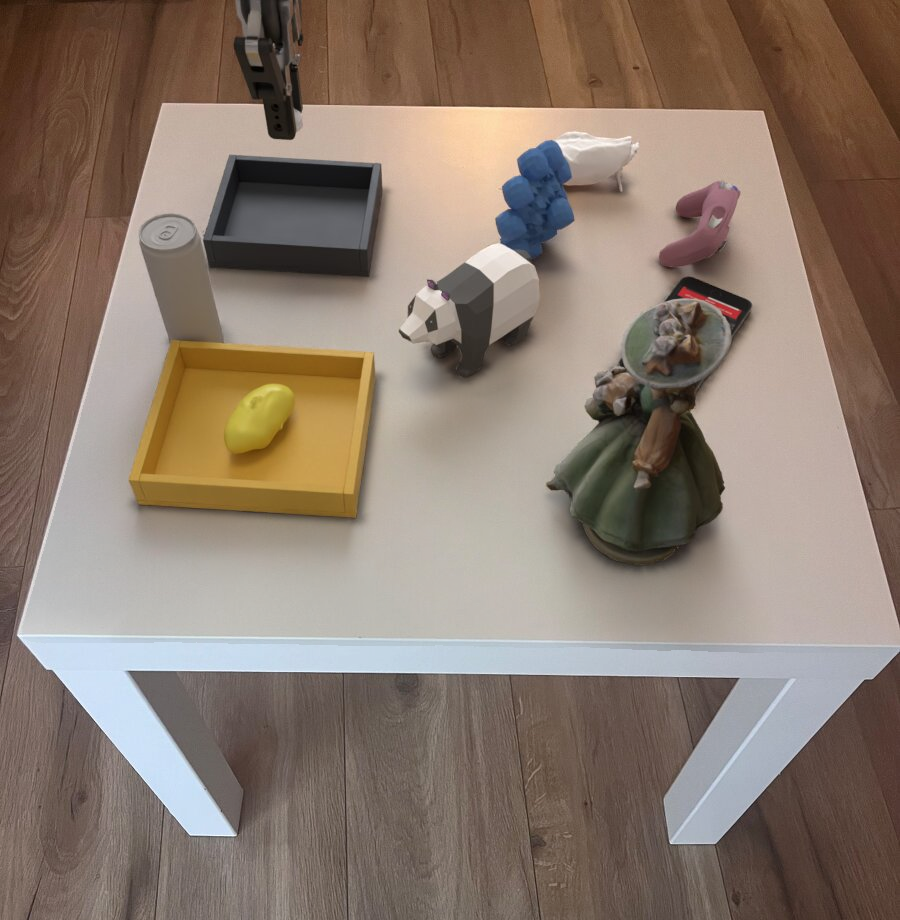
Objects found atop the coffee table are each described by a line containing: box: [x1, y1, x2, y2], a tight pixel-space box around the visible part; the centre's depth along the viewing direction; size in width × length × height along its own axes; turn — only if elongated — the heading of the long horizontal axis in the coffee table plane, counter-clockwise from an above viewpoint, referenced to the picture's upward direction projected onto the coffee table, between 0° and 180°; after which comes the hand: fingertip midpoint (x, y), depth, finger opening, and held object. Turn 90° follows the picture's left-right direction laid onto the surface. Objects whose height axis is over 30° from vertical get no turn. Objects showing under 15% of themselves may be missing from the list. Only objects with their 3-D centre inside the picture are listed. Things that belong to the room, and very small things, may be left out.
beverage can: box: [138, 213, 224, 345], centre depth 78 cm, size 5×5×12 cm
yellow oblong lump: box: [224, 384, 295, 454], centre depth 75 cm, size 4×8×4 cm, turn 145°
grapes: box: [494, 139, 576, 261], centre depth 85 cm, size 12×7×12 cm, turn 147°
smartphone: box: [617, 275, 753, 393], centre depth 85 cm, size 7×1×15 cm
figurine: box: [545, 298, 733, 566], centre depth 67 cm, size 14×14×20 cm
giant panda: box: [398, 242, 540, 379], centre depth 79 cm, size 15×6×10 cm, turn 133°
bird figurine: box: [554, 130, 641, 193], centre depth 95 cm, size 5×7×10 cm
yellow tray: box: [127, 340, 376, 519], centre depth 76 cm, size 18×16×3 cm
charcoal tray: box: [202, 154, 383, 278], centre depth 91 cm, size 16×14×3 cm
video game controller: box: [658, 178, 741, 268], centre depth 90 cm, size 10×5×7 cm, turn 161°
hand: (286, 124), depth 75 cm, fingers closed on chess pawn, 2 cm apart
